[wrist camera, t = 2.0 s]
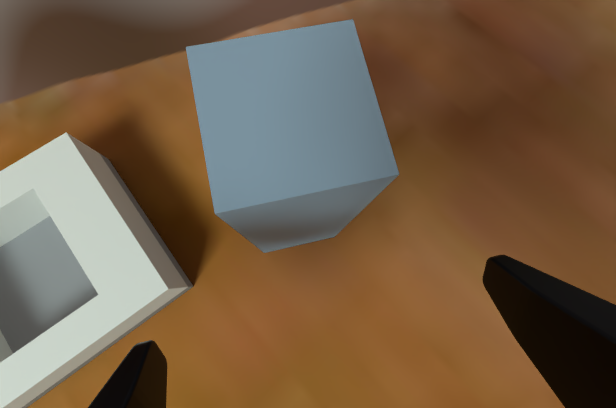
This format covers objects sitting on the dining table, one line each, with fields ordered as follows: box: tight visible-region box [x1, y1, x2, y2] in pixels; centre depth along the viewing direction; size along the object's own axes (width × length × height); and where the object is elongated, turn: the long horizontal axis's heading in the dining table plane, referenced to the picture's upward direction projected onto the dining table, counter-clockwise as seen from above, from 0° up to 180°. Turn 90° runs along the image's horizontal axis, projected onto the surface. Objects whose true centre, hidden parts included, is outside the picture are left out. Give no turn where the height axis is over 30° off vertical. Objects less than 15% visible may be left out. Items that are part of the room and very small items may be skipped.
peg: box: [186, 19, 399, 253], centre depth 15 cm, size 4×4×13 cm
